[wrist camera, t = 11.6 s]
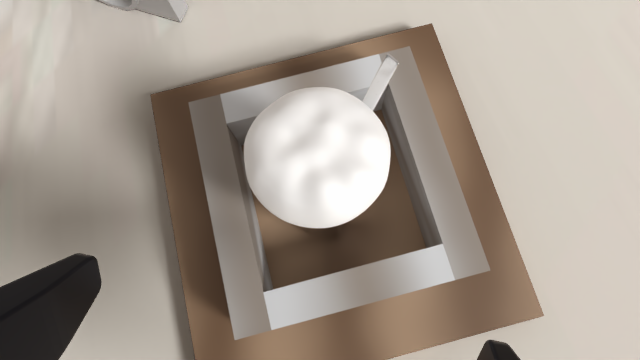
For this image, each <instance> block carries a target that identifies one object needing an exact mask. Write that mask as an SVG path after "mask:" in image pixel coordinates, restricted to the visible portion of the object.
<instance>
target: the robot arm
mask: <svg viewBox="0 0 640 360" xmlns="http://www.w3.org/2000/svg"><path fill="white" fill-rule="evenodd" d="M100 288H101V277H100V272H99V267H98V262H97V259H96V258H95V257H94V256H90V255H86V254H81V253H77V254H74V255H71V256H69V257H67V258H65V259H62V260H60V261H58V262H56V263H53V264H51V265H49V266H47V267H44V268H42V269H40V270H38V271H35V272H33V273H31V274H29V275H26V276H24V277H22V278H20V279H17V280H15V281H13V282H11V283H8V284H6V285H4V286H2V287H0V360H59V358H60V357H61V355H62V354H63V352H64V351H65V349H66V348H67V346H68V345H69V343H70V341H71V340H72V338H73V336H74V334H75V333H76V331H77V329H78V328H79V326H80V324H81V322H82V321H83V319H84V317H85V315H86V314H87V312H88V310H89V309H90V307H91V305H92V303H93V302H94V300H95V298H96V297H97V295H98V293H99V291H100ZM477 360H520V358H519V357H518V356H517V355H516V353H515V352H514V351H513V349H512V348H511V347H510V346H509V345H508V344H506V343H504V342H499V341H494V340H487V341H486V342H485V344H484V346H483V348H482V350H481V352H480V354H479V356H478V358H477Z"/></svg>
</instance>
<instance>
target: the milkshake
mask: <svg viewBox="0 0 640 360" xmlns="http://www.w3.org/2000/svg"><path fill="white" fill-rule="evenodd" d="M398 65H399V62H398V61H397V60H396V59H395V58H394V57H393V56H391V55H390V54H389V53H387V54H386V56H385V58H384V60H383V61H382V63H381V65H380V67H379V69H378V71H377V73H376V75H375V77H374V79H373V81H372V83H371V85H370V87H369V89H368V91H367V93H366V95H365V97H364V99H363V101H361V100H359V99H358V98H356V97H354V96H353V95H351V94H349V93H347V92H345V91H342V90H339V89H335V88H330V87H311V88H304V89H299V90H295V91H292V92H289V93H287V94H285V95H283V96H282V97H280V98H279V99H277V100H276V101H274V102H273V103H272V104H270V105H269V106H268V107H267V108H265V109H264V110H263V111H262V112H261V113H260V114H259V115H258V116H257V117H256V119H255V120H254V122H253V123H252V125H251V127H250V128H249V130H248V133H247V135H246V138H245V143H244V163H245V171H246V176H247V180H248V183H249V186H250V188H251V190H252V191H253V193H254V195H255V196H256V198H257V199H258V200H259V201H260V203H261V204H262V205H263V206H264V207H265V208H266V209H267V210H268V211H270V212H271V213H272V214H274V215H275V216H277V217H278V218H280V219H282V220H284V221H286V222H288V223H290V224H293V225H295V226H298V227H300V228H302V229H304V230H306V231H308V232H310V233H312V234H313V235H315V236H317V237H321V236H328V235H335V234H339V233H340V232H341V231H342V230H343V229H344V228H345V227H346V226H347V225H348V224H350V223H351V222H352V221H353V220H354V219H355V218H356V217H357V216H359V215H360V214H361V213H363V212H364V211H365V210H366V209H367V208H368V207H369V206H370V205H371V204H372V203H373V202H374V201H375V200H376V199H377V198H378V196H379V195H380V193H381V192H382V190H383V188H384V186H385V184H386V181H387V178H388V173H389V167H390V156H391V149H390V141H389V137H388V134H387V132H386V130H385V128H384V126H383V124H382V122H381V121H380V119H379V118H378V117H377V116H376V114H375V113H374V112H373V110H374V108H375V106H376V105H377V103H378V101H379V99H380V98H381V96H382V94H383V92H384V90H385V89H386V87H387V85H388V83H389V81H390V80H391V78H392V76H393V74H394V72H395V71H396V69H397V67H398Z"/></svg>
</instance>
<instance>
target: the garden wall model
mask: <svg viewBox="0 0 640 360" xmlns="http://www.w3.org/2000/svg"><path fill="white" fill-rule="evenodd" d="M99 1H101V2H103V3H105V4H107V5H109V6H112V7H114V8H118V9H121V10H126V11H127V10H134V9H137V10H141V11H144V12H147V13H151V14H154V15H158V16H161V17H164V18H168V19H171V20H174V21H178V22H181V21H182V19H183V17H184V15H185V13H186V11H187V9H188V6H187V4H186V2H185V0H99Z"/></svg>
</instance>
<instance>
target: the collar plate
mask: <svg viewBox="0 0 640 360" xmlns="http://www.w3.org/2000/svg"><path fill="white" fill-rule="evenodd" d="M387 53H389V54H390V55H391V56H393V57H394V58H395V59H396V60H397V61H398V62H399V65H398V67H397V69H396V71H395V72H394V74H393V76H392V78H391V80H390V81H389V83H388V85H387V87H386V89H385V90H384V92H383V94H382V96H381V98H380V99H379V101H378V103H377V105H376V106H375V108H374V110H373V112H374V113H375V114H376V116H377V117H378V118H379V119H380V121H381V122H382V124H383V126H384V128H385V130H386V132H387V134H388V137H389V141H390V149H391V156H390V167H389V173H388V178H387V181H386V184H385V186H384V188H383V190H382V192H381V193H380V195H379V196H378V198H377V199H376V200H375V201H374V202H373V203H372V204H371V205H370V206H369V207H368V208H367V209H366V210H365V211H364V212H363V213H361V214H360V215H359V216H357V217H356V218H355V219H354V220H353V221H352V222H351V223H350V224H348V225H347V226H346V227H345V228H344V229H343V230H342V231H341V232H340V233H339V234H335V235H328V236H321V237H317V236H315V235H313V234H312V233H310V232H308V231H306V230H304V229H302V228H300V227H298V226H295V225H293V224H290V223H288V222H286V221H284V220H282V219H280V218H278V217H277V216H275V215H274V214H272V213H271V212H270V211H268V210H267V209H266V208H265V207H264V206H263V205H262V204H261V203H260V201H259V200H258V199H257V198H256V196H255V195H254V193H253V191H252V190H251V188H250V186H249V183H248V180H247V176H246V171H245V163H244V143H245V138H246V135H247V133H248V130H249V128H250V127H251V125H252V123H253V122H254V120H255V119H256V117H257V116H258V115H259V114H260V113H261V112H262V111H263V110H264V109H265V108H267V107H268V106H269V105H270V104H272V103H273V102H274V101H276V100H277V99H279V98H280V97H282V96H283V95H285V94H287V93H289V92H292V91H295V90H299V89H304V88H311V87H330V88H335V89H339V90H342V91H345V92H347V93H349V94H351V95H353V96H354V97H356V98H358V99H359V100H361V101H363V99H364V97H365V95H366V93H367V91H368V89H369V87H370V85H371V83H372V81H373V79H374V77H375V75H376V73H377V71H378V69H379V67H380V65H381V63H382V61H383V60H384V58H385V56H386V54H387ZM151 101H152V107H153V113H154V119H155V125H156V131H157V137H158V143H159V148H160V154H161V160H162V166H163V172H164V178H165V184H166V190H167V196H168V202H169V207H170V213H171V219H172V225H173V231H174V237H175V243H176V249H177V255H178V261H179V266H180V272H181V278H182V284H183V290H184V296H185V302H186V308H187V314H188V319H189V325H190V331H191V337H192V343H193V349H194V355H195V360H387V359H390V358H394V357H398V356H401V355H405V354H408V353H412V352H416V351H419V350H423V349H426V348H430V347H434V346H437V345H441V344H444V343H448V342H452V341H455V340H459V339H462V338H466V337H470V336H473V335H477V334H480V333H484V332H488V331H491V330H495V329H498V328H502V327H506V326H509V325H513V324H516V323H520V322H524V321H527V320H531V319H534V318H538V317H542V316H544V314H543V312H542V309H541V307H540V304H539V301H538V299H537V296H536V294H535V291H534V288H533V286H532V283H531V281H530V278H529V275H528V273H527V270H526V267H525V265H524V262H523V260H522V257H521V254H520V252H519V249H518V247H517V244H516V241H515V239H514V236H513V234H512V231H511V228H510V226H509V223H508V221H507V218H506V215H505V213H504V210H503V208H502V205H501V202H500V200H499V197H498V194H497V192H496V189H495V187H494V184H493V181H492V179H491V176H490V174H489V171H488V168H487V166H486V163H485V161H484V158H483V155H482V153H481V150H480V148H479V145H478V142H477V140H476V137H475V135H474V132H473V129H472V127H471V124H470V121H469V119H468V116H467V114H466V111H465V108H464V106H463V103H462V101H461V98H460V95H459V93H458V90H457V88H456V85H455V82H454V80H453V77H452V75H451V72H450V69H449V67H448V64H447V62H446V59H445V56H444V54H443V51H442V49H441V46H440V43H439V41H438V38H437V35H436V33H435V30H434V28H433V25H432V24H428V25H424V26H420V27H416V28H412V29H408V30H404V31H400V32H396V33H392V34H388V35H384V36H380V37H376V38H372V39H368V40H364V41H360V42H356V43H352V44H349V45H345V46H341V47H337V48H333V49H329V50H325V51H321V52H317V53H313V54H309V55H305V56H301V57H297V58H293V59H289V60H285V61H281V62H277V63H273V64H269V65H265V66H262V67H258V68H254V69H250V70H246V71H242V72H238V73H234V74H230V75H226V76H222V77H218V78H214V79H210V80H206V81H202V82H198V83H194V84H190V85H186V86H182V87H178V88H175V89H171V90H167V91H163V92H159V93H155V94H151Z"/></svg>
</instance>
